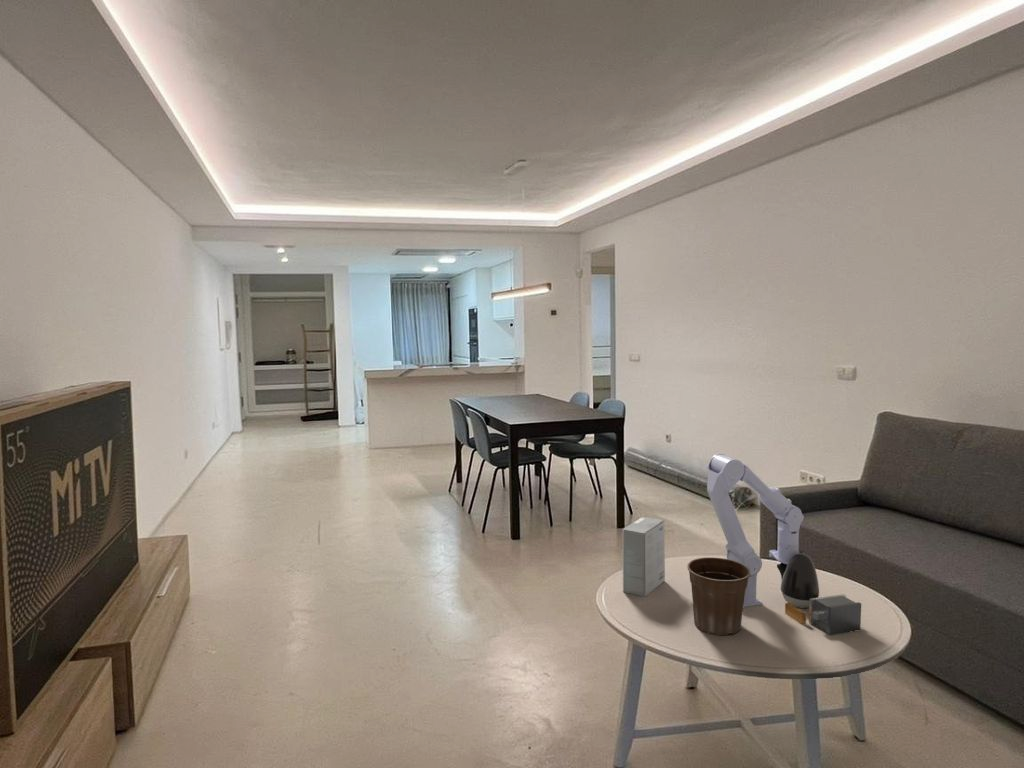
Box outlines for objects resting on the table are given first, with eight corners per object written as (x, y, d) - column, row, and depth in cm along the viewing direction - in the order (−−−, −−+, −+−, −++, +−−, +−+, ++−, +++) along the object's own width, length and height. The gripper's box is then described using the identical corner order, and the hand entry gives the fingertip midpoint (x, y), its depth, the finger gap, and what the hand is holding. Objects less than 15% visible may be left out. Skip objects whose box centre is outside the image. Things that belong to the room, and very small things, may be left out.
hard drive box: (642, 575, 211) (643, 516, 209) (665, 581, 206) (665, 519, 204) (621, 591, 198) (621, 528, 196) (644, 597, 194) (645, 532, 192)
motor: (820, 636, 168) (821, 609, 168) (785, 613, 182) (785, 588, 181) (869, 629, 172) (870, 602, 172) (831, 607, 186) (832, 582, 185)
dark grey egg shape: (817, 599, 191) (821, 550, 188) (818, 615, 181) (822, 563, 179) (780, 592, 195) (783, 544, 193) (779, 608, 185) (782, 557, 183)
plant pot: (749, 644, 165) (750, 583, 163) (683, 634, 170) (684, 575, 169) (749, 617, 180) (750, 561, 178) (689, 609, 185) (690, 554, 184)
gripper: (816, 550, 186) (815, 595, 187) (783, 534, 200) (782, 577, 201) (795, 553, 184) (795, 599, 185) (763, 537, 198) (763, 579, 199)
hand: (787, 587), depth 193 cm, fingers closed, pressing on dark grey egg shape
